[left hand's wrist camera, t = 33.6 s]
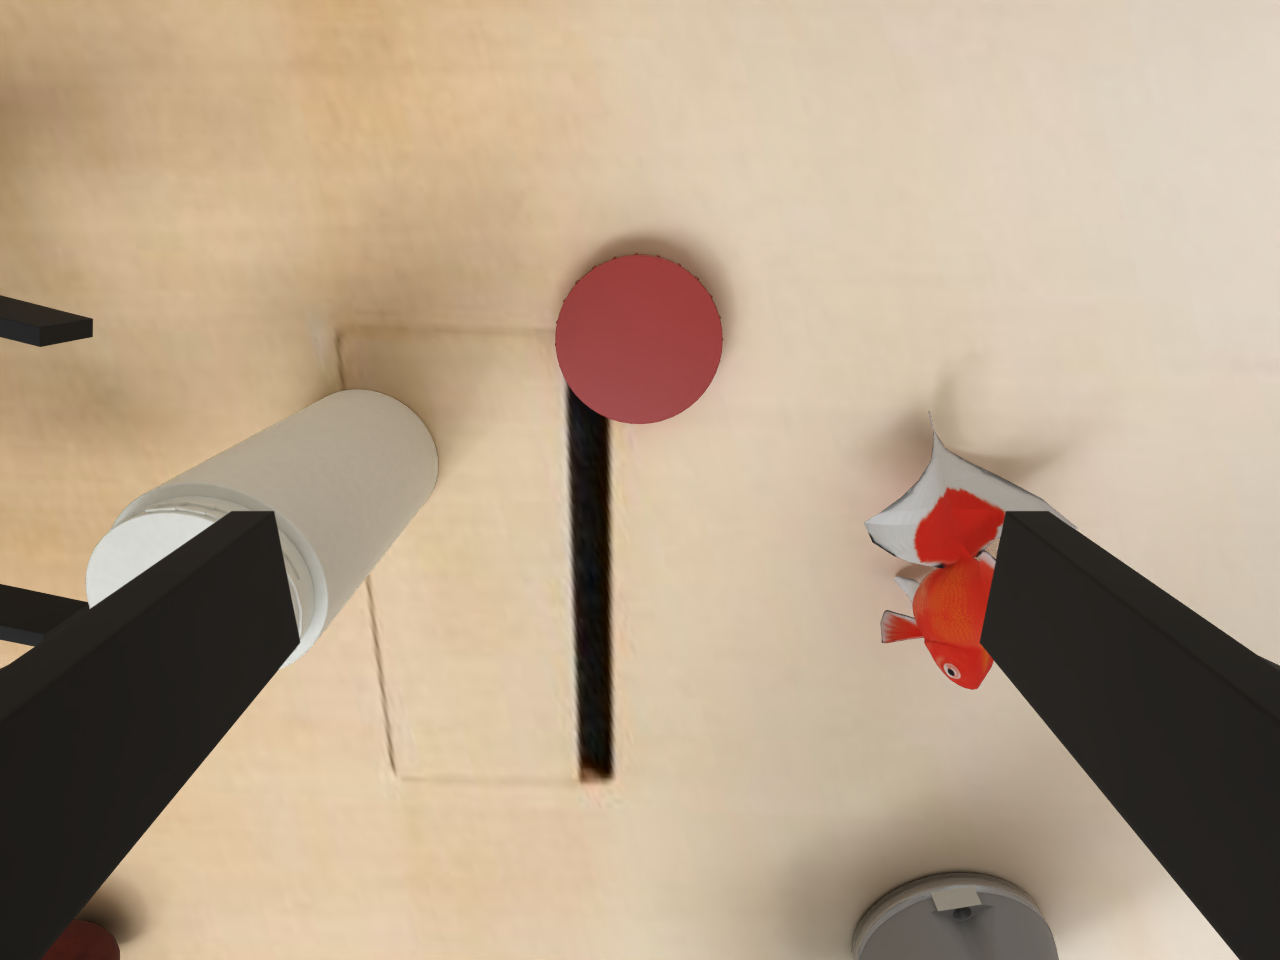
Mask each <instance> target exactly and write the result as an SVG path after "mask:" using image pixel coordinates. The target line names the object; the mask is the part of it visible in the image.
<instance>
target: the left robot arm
mask: <svg viewBox="0 0 1280 960" xmlns="http://www.w3.org/2000/svg"><path fill="white" fill-rule="evenodd" d="M300 643H301V642H300V637H299V632H298V627H297V622H296V617H295V612H294V607H293V602H292V597H291V592H290V587H289V582H288V577H287V572H286V567H285V562H284V557H283V552H282V547H281V542H280V537H279V532H278V527H277V522H276V517H275V512H274V511H231V512H229V513H228V514H226V515H225V516H224V517H222V518H221V519H219V520H218V521H216V522H215V523H213V524H212V525H211V526H209V527H208V528H206V529H205V530H203V531H202V532H200V533H199V534H198V535H196V536H195V537H193V538H192V539H190V540H189V541H187V542H186V543H184V544H183V545H182V546H180V547H179V548H177V549H176V550H174V551H173V552H171V553H170V554H169V555H167V556H166V557H164V558H163V559H161V560H160V561H158V562H157V563H156V564H154V565H153V566H151V567H150V568H148V569H147V570H145V571H144V572H142V573H141V574H140V575H138V576H137V577H135V578H134V579H132V580H131V581H129V582H128V583H127V584H125V585H124V586H122V587H121V588H119V589H118V590H116V591H115V592H113V593H112V594H111V595H109V596H108V597H106V598H105V599H103V600H102V601H100V602H99V603H98V604H96V605H95V606H93V607H92V608H90V609H89V610H87V611H86V612H85V613H83V614H82V615H80V616H79V617H77V618H76V619H74V620H73V621H71V622H70V623H69V624H67V625H66V626H64V627H63V628H61V629H60V630H58V631H57V632H56V633H54V634H53V635H51V636H50V637H48V638H47V639H45V640H44V641H43V642H41V643H40V644H38V645H37V646H35V647H34V648H32V649H31V650H29V651H28V652H27V653H25V654H24V655H22V656H21V657H19V658H18V659H16V660H15V661H14V662H12V663H11V664H9V665H7V666H5V667H3V668H1V669H0V960H41V958H42V957H43V956H44V955H45V953H46V952H47V951H48V950H49V949H50V947H51V946H52V945H53V944H54V942H55V941H56V940H57V939H58V938H59V936H60V935H61V934H62V933H63V931H64V930H65V929H66V928H67V927H68V925H69V924H70V923H71V922H72V921H73V919H74V918H75V917H76V916H77V914H78V913H79V912H80V911H81V910H82V908H83V907H84V906H85V905H86V903H87V902H88V901H89V900H90V899H91V897H92V896H93V895H94V894H95V892H96V891H97V890H98V889H99V888H100V886H101V885H102V884H103V883H104V882H105V880H106V879H107V878H108V877H109V875H110V874H111V873H112V872H113V871H114V869H115V868H116V867H117V866H118V864H119V863H120V862H121V861H122V860H123V858H124V857H125V856H126V855H127V854H128V852H129V851H130V850H131V849H132V847H133V846H134V845H135V844H136V843H137V841H138V840H139V839H140V838H141V836H142V835H143V834H144V833H145V832H146V830H147V829H148V828H149V827H150V825H151V824H152V823H153V822H154V821H155V819H156V818H157V817H158V816H159V815H160V813H161V812H162V811H163V810H164V808H165V807H166V806H167V805H168V804H169V802H170V801H171V800H172V799H173V797H174V796H175V795H176V794H177V793H178V791H179V790H180V789H181V788H182V786H183V785H184V784H185V783H186V782H187V780H188V779H189V778H190V777H191V776H192V774H193V773H194V772H195V771H196V769H197V768H198V767H199V766H200V765H201V763H202V762H203V761H204V760H205V758H206V757H207V756H208V755H209V754H210V752H211V751H212V750H213V749H214V748H215V746H216V745H217V744H218V743H219V741H220V740H221V739H222V738H223V737H224V735H225V734H226V733H227V732H228V730H229V729H230V728H231V727H232V726H233V724H234V723H235V722H236V721H237V719H238V718H239V717H240V716H241V715H242V713H243V712H244V711H245V710H246V709H247V707H248V706H249V705H250V704H251V702H252V701H253V700H254V699H255V698H256V696H257V695H258V694H259V693H260V691H261V690H262V689H263V688H264V687H265V685H266V684H267V683H268V682H269V680H270V679H271V678H272V677H273V676H274V674H275V673H276V672H277V671H278V670H279V668H280V667H281V666H282V665H283V663H284V662H285V661H286V660H287V659H288V657H289V656H290V655H291V654H292V652H293V651H294V650H295V649H296V648H297V646H298V645H299V644H300ZM979 643H980V644H981V645H982V646H983V648H984V649H985V650H986V651H987V652H988V654H989V655H990V656H991V657H992V659H993V660H994V661H995V662H996V663H997V665H998V666H999V667H1000V668H1001V670H1002V671H1003V672H1004V673H1005V674H1006V676H1007V677H1008V678H1009V679H1010V680H1011V682H1012V683H1013V684H1014V685H1015V687H1016V688H1017V689H1018V690H1019V691H1020V693H1021V694H1022V695H1023V696H1024V698H1025V699H1026V700H1027V701H1028V702H1029V704H1030V705H1031V706H1032V707H1033V709H1034V710H1035V711H1036V712H1037V713H1038V715H1039V716H1040V717H1041V718H1042V719H1043V721H1044V722H1045V723H1046V724H1047V726H1048V727H1049V728H1050V729H1051V730H1052V732H1053V733H1054V734H1055V735H1056V737H1057V738H1058V739H1059V740H1060V741H1061V743H1062V744H1063V745H1064V746H1065V748H1066V749H1067V750H1068V751H1069V752H1070V754H1071V755H1072V756H1073V757H1074V758H1075V760H1076V761H1077V762H1078V763H1079V765H1080V766H1081V767H1082V768H1083V769H1084V771H1085V772H1086V773H1087V774H1088V776H1089V777H1090V778H1091V779H1092V780H1093V782H1094V783H1095V784H1096V785H1097V786H1098V788H1099V789H1100V790H1101V791H1102V793H1103V794H1104V795H1105V796H1106V797H1107V799H1108V800H1109V801H1110V802H1111V804H1112V805H1113V806H1114V807H1115V808H1116V810H1117V811H1118V812H1119V813H1120V815H1121V816H1122V817H1123V818H1124V819H1125V821H1126V822H1127V823H1128V824H1129V825H1130V827H1131V828H1132V829H1133V830H1134V832H1135V833H1136V834H1137V835H1138V836H1139V838H1140V839H1141V840H1142V841H1143V843H1144V844H1145V845H1146V846H1147V847H1148V849H1149V850H1150V851H1151V852H1152V854H1153V855H1154V856H1155V857H1156V858H1157V860H1158V861H1159V862H1160V863H1161V864H1162V866H1163V867H1164V868H1165V869H1166V871H1167V872H1168V873H1169V874H1170V875H1171V877H1172V878H1173V879H1174V880H1175V882H1176V883H1177V884H1178V885H1179V886H1180V888H1181V889H1182V890H1183V891H1184V892H1185V894H1186V895H1187V896H1188V897H1189V899H1190V900H1191V901H1192V902H1193V903H1194V905H1195V906H1196V907H1197V908H1198V910H1199V911H1200V912H1201V913H1202V914H1203V916H1204V917H1205V918H1206V919H1207V921H1208V922H1209V923H1210V924H1211V925H1212V927H1213V928H1214V929H1215V930H1216V931H1217V933H1218V934H1219V935H1220V936H1221V938H1222V939H1223V940H1224V941H1225V942H1226V944H1227V945H1228V946H1229V947H1230V949H1231V950H1232V951H1233V952H1234V953H1235V955H1236V956H1237V957H1238V958H1239V960H1280V666H1279V665H1277V664H1275V663H1273V662H1271V661H1269V660H1266V659H1264V658H1262V657H1260V656H1258V655H1256V654H1255V653H1253V652H1252V651H1251V650H1249V649H1248V648H1246V647H1245V646H1243V645H1242V644H1240V643H1239V642H1237V641H1236V640H1235V639H1233V638H1232V637H1230V636H1229V635H1227V634H1226V633H1224V632H1223V631H1222V630H1220V629H1219V628H1217V627H1216V626H1214V625H1213V624H1211V623H1210V622H1209V621H1207V620H1206V619H1204V618H1203V617H1201V616H1200V615H1198V614H1197V613H1195V612H1194V611H1193V610H1191V609H1190V608H1188V607H1187V606H1185V605H1184V604H1182V603H1181V602H1180V601H1178V600H1177V599H1175V598H1174V597H1172V596H1171V595H1169V594H1168V593H1167V592H1165V591H1164V590H1162V589H1161V588H1159V587H1158V586H1156V585H1155V584H1153V583H1152V582H1151V581H1149V580H1148V579H1146V578H1145V577H1143V576H1142V575H1140V574H1139V573H1138V572H1136V571H1135V570H1133V569H1132V568H1130V567H1129V566H1127V565H1126V564H1124V563H1123V562H1122V561H1120V560H1119V559H1117V558H1116V557H1114V556H1113V555H1111V554H1110V553H1109V552H1107V551H1106V550H1104V549H1103V548H1101V547H1100V546H1098V545H1097V544H1096V543H1094V542H1093V541H1091V540H1090V539H1088V538H1087V537H1085V536H1084V535H1082V534H1081V533H1080V532H1078V531H1077V530H1075V529H1074V528H1072V527H1071V526H1069V525H1068V524H1067V523H1065V522H1064V521H1062V520H1061V519H1059V518H1058V517H1056V516H1055V515H1054V514H1052V513H1051V512H1049V511H1006V512H1005V517H1004V522H1003V527H1002V532H1001V537H1000V542H999V547H998V552H997V557H996V562H995V567H994V572H993V577H992V582H991V587H990V592H989V597H988V602H987V607H986V612H985V617H984V622H983V627H982V632H981V637H980V642H979ZM852 959H853V960H1059V958H1058V954H1057V949H1056V945H1055V942H1054V939H1053V935H1052V932H1051V930H1050V928H1049V926H1048V924H1047V923H1046V921H1045V919H1044V917H1043V916H1042V914H1041V912H1040V911H1039V909H1038V907H1037V906H1036V904H1035V903H1034V901H1033V900H1032V899H1031V898H1030V897H1029V896H1028V895H1027V894H1026V893H1025V892H1024V891H1023V890H1021V889H1020V888H1018V887H1017V886H1015V885H1013V884H1011V883H1009V882H1007V881H1005V880H1002V879H999V878H996V877H993V876H989V875H984V874H977V873H947V874H940V875H934V876H930V877H926V878H922V879H919V880H916V881H913V882H911V883H908V884H906V885H904V886H901V887H899V888H898V889H896V890H894V891H892V892H891V893H889V894H887V895H886V896H884V897H883V898H882V899H880V900H879V901H878V902H877V903H876V904H875V905H873V906H872V907H871V908H870V910H869V911H868V912H867V913H866V914H865V915H864V917H863V918H862V919H861V921H860V923H859V925H858V926H857V929H856V931H855V933H854V937H853V941H852Z"/></svg>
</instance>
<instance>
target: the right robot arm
mask: <svg viewBox="0 0 1280 960" xmlns="http://www.w3.org/2000/svg"><path fill="white" fill-rule="evenodd" d="M0 337H3V338H7V339H11V340H15V341H19V342H23V343H27V344H31V345H35V346H39V347H42V346H47V345H52V344H58V343H63V342H68V341H73V340H79V339H84V338H89V337H93V319H91V318H87V317H83V316H79V315H75V314H72V313H68V312H64V311H60V310H56V309H52V308H48V307H44V306H40V305H36V304H32V303H28V302H24V301H20V300H16V299H13V298H9V297H5V296H1V295H0ZM87 610H89V603H88V602H84V601H79V600H74V599H69V598H65V597H60V596H55V595H50V594H46V593H41V592H36V591H31V590H26V589H22V588H17V587H12V586H7V585H2V584H0V640H5V641H10V642H15V643H20V644H25V645H30V646H37V645H38V644H40V643H41V642H43V641H44V640H45V639H47V638H48V637H50V636H51V635H53V634H54V633H56V632H57V631H58V630H60V629H61V628H63V627H64V626H66V625H67V624H69V623H70V622H71V621H73V620H74V619H76V618H77V617H79V616H80V615H82V614H83V613H85V612H86V611H87Z"/></svg>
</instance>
